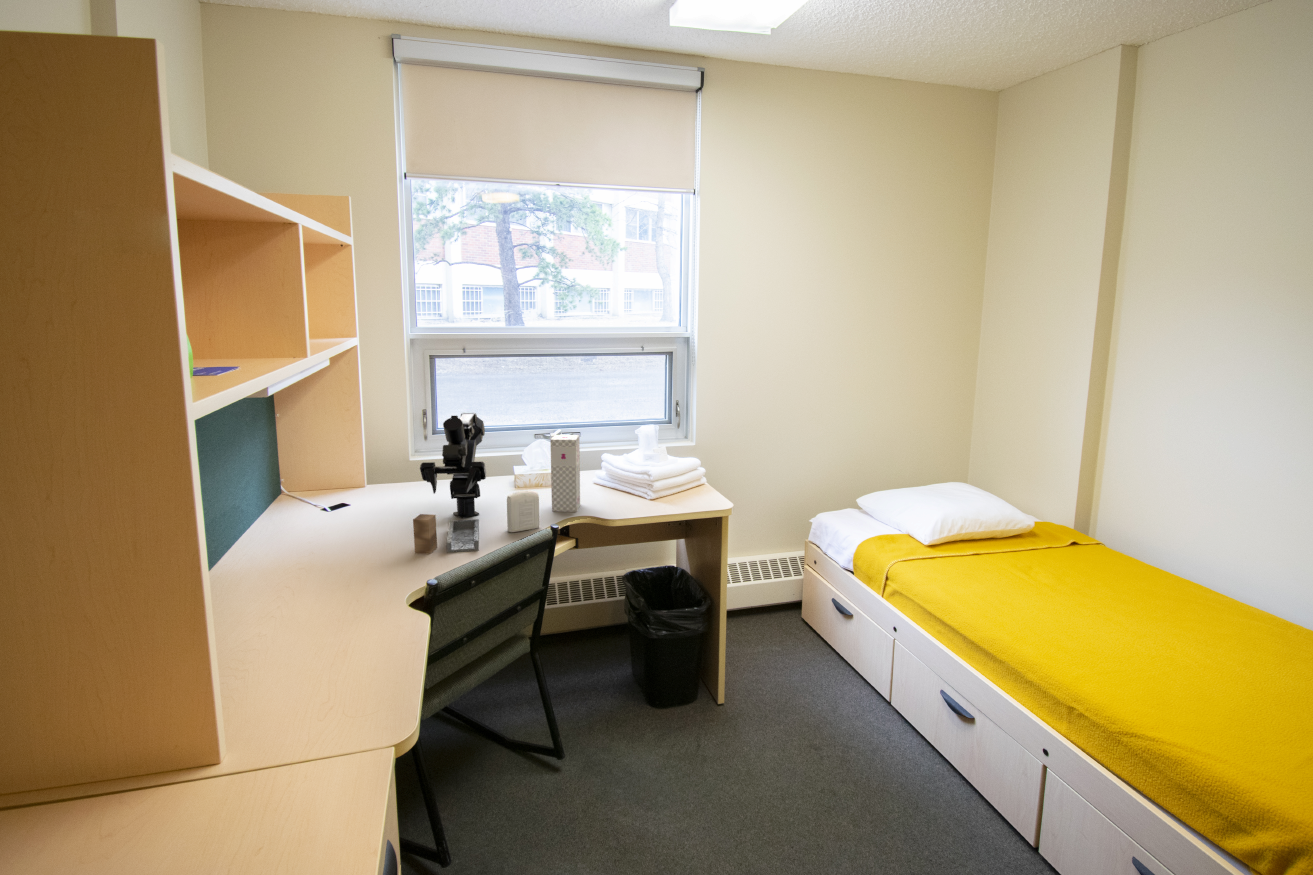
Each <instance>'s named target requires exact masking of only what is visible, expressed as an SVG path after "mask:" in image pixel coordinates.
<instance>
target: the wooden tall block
mask: <svg viewBox="0 0 1313 875" xmlns="http://www.w3.org/2000/svg"><path fill="white" fill-rule="evenodd" d="M436 516H437V515H436V514H428V513H424V514H423V513H420V514H419V515H417V516H416V517H414V518H413V519H412V523H413V543H414V554H427V555H431V554H432V553H434V551H436V549H437V548H438V537H437V536H438V535H437V520H436V519H437V517H436Z"/></svg>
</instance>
